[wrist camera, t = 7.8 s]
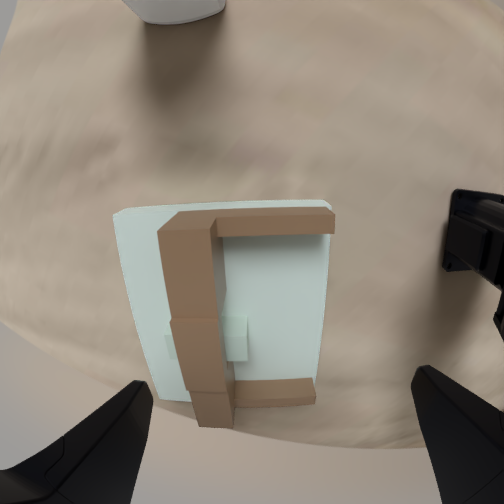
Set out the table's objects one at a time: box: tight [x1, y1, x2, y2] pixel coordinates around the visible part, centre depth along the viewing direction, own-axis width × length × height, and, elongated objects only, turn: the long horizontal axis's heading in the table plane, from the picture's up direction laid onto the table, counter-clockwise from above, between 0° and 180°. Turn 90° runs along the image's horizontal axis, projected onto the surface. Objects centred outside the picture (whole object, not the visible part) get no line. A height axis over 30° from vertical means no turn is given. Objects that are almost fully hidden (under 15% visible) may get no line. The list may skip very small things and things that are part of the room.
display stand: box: [113, 200, 331, 402], centre depth 19 cm, size 13×16×4 cm
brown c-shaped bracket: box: [157, 207, 335, 428], centre depth 16 cm, size 8×14×4 cm, turn 2°
